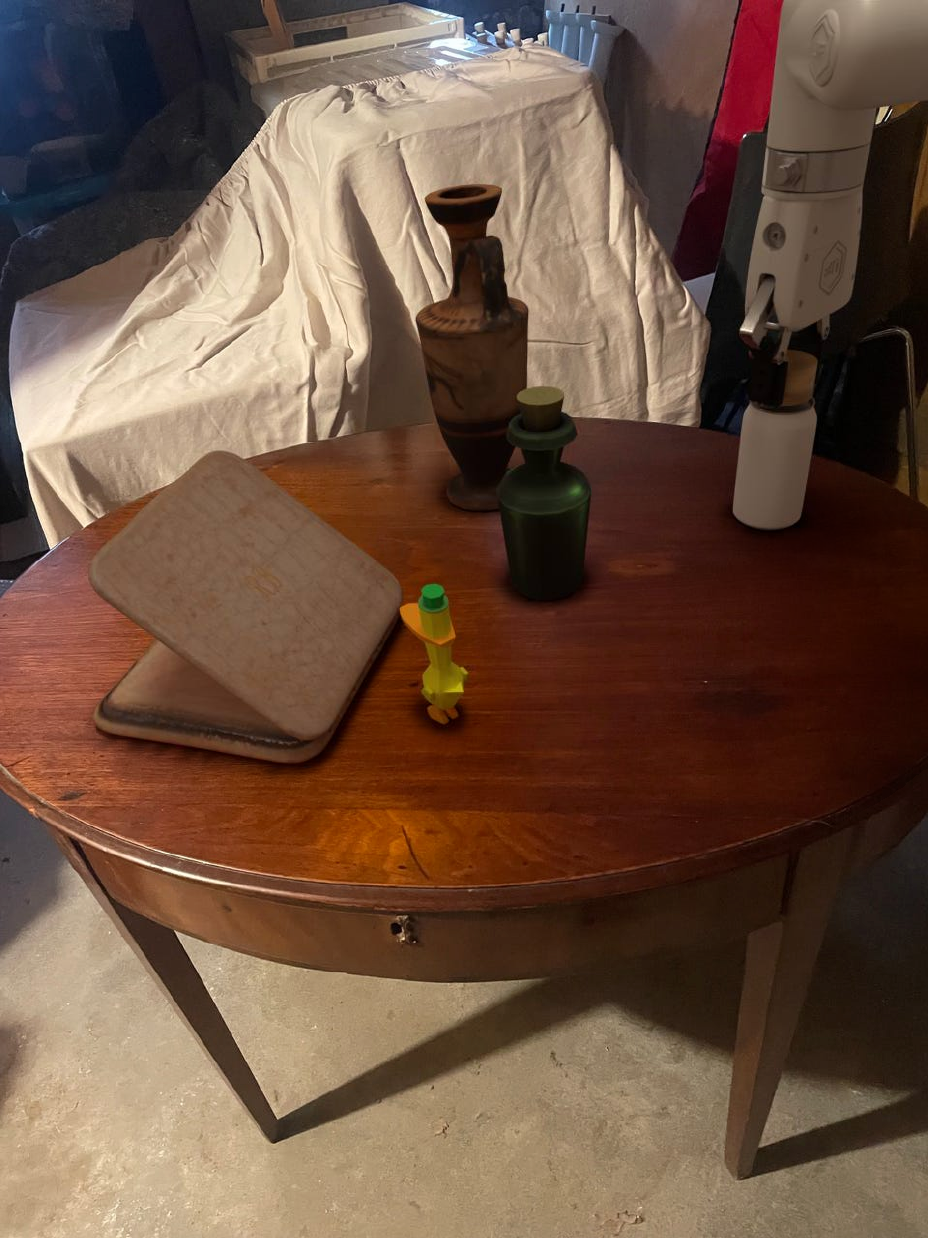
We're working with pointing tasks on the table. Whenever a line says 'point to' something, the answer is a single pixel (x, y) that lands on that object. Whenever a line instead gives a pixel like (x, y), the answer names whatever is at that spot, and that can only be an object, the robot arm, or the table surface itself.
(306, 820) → the table surface
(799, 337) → the robot arm
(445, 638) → the toy figure
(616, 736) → the table surface
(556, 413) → the potion bottle
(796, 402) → the cylinder
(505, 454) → the vase
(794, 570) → the table surface
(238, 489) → the case
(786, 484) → the can
